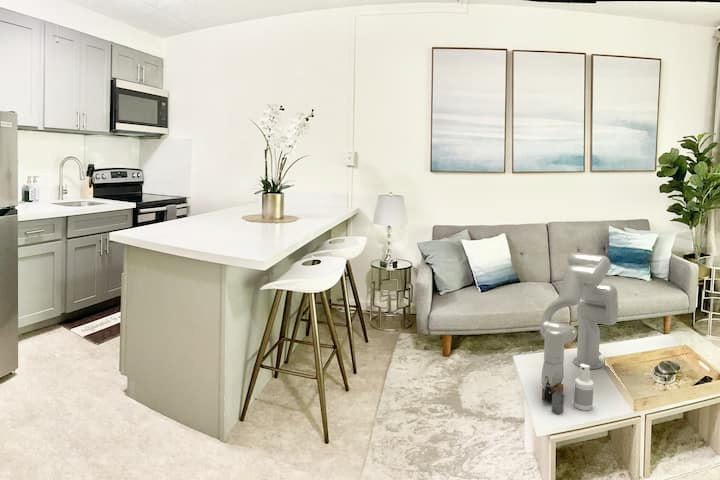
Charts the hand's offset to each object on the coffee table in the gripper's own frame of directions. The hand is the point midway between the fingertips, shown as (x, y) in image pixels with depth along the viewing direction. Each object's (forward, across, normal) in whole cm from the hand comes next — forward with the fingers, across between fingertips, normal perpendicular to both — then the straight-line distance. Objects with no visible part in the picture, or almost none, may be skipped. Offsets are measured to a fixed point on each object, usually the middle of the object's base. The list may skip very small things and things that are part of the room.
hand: (552, 397), depth 198 cm
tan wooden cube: (+1, 0, 0) cm, 1 cm away
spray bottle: (+1, -4, +11) cm, 12 cm away
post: (+1, +7, +6) cm, 9 cm away
